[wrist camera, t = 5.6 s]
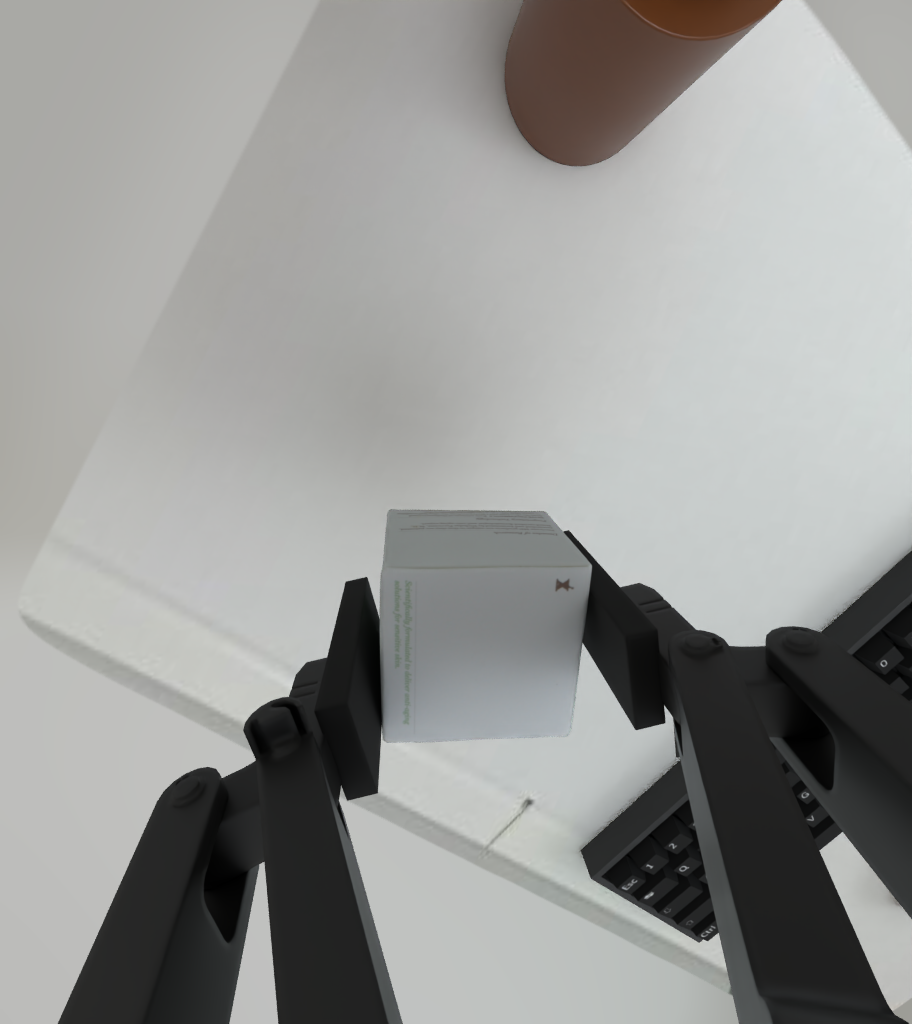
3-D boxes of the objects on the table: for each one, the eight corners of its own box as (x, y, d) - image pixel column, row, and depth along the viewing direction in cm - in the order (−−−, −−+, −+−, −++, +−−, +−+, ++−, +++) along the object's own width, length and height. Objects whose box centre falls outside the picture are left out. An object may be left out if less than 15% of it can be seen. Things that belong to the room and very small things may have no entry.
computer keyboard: (684, 914, 52) (706, 956, 49) (580, 850, 48) (595, 891, 44) (1051, 608, 45) (1108, 631, 41) (967, 500, 40) (1023, 515, 37)
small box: (383, 505, 17) (378, 566, 12) (548, 506, 18) (603, 564, 13) (383, 651, 19) (379, 753, 14) (534, 647, 19) (577, 743, 15)
